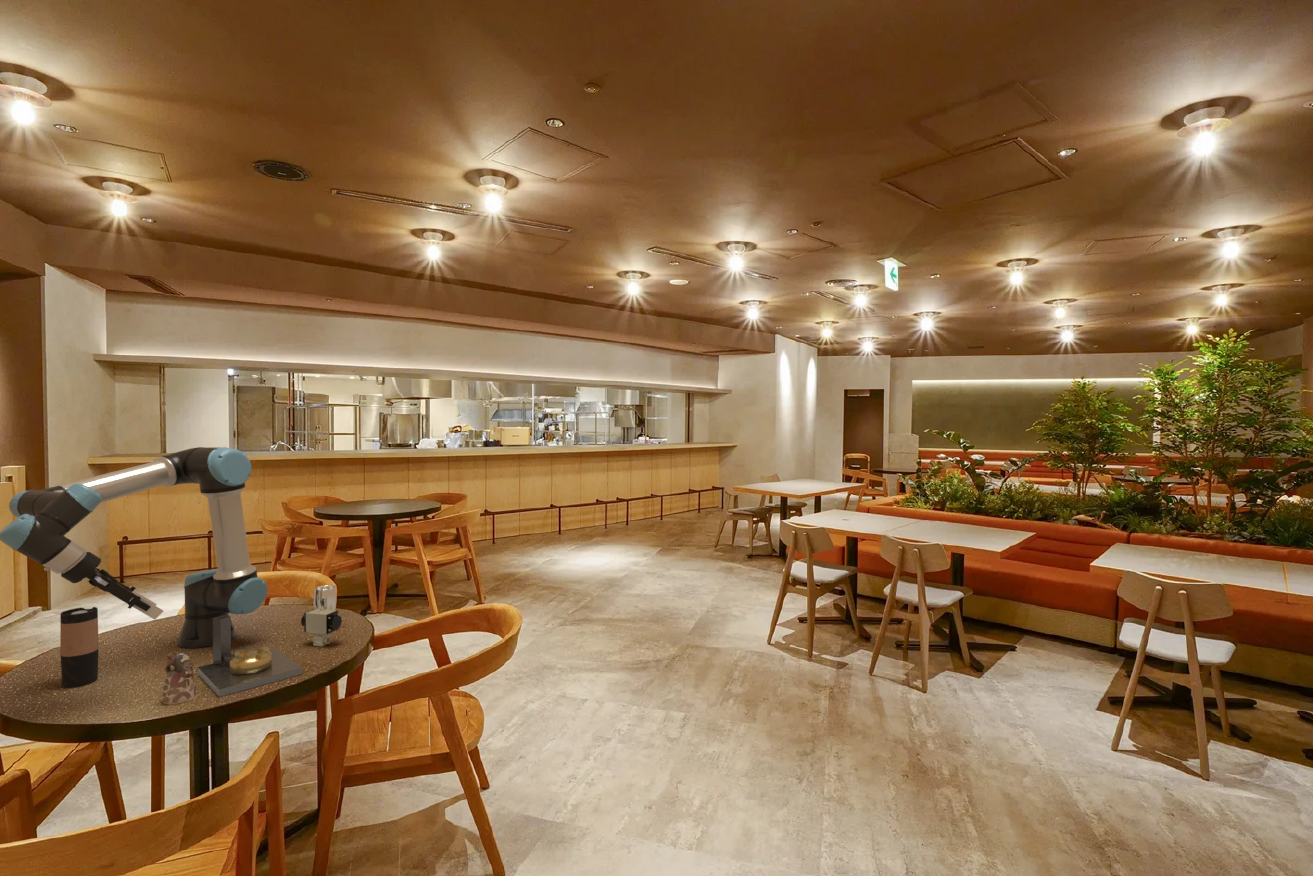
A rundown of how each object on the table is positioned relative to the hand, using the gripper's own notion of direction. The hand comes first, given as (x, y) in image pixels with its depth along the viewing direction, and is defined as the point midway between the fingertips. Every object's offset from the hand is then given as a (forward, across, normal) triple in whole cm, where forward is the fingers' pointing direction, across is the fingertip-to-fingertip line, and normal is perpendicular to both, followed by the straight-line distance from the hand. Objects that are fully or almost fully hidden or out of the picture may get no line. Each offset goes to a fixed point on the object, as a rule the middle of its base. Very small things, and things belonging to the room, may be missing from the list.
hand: (155, 611), depth 165 cm
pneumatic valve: (+45, -1, +15) cm, 47 cm away
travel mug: (+5, -19, -24) cm, 31 cm away
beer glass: (+49, -15, +20) cm, 55 cm away
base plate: (+29, +9, -1) cm, 30 cm away
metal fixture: (+26, +7, 0) cm, 27 cm away
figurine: (+17, +13, -13) cm, 25 cm away
